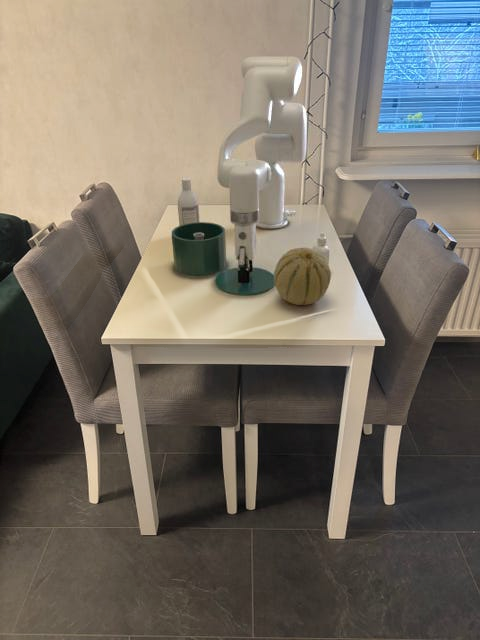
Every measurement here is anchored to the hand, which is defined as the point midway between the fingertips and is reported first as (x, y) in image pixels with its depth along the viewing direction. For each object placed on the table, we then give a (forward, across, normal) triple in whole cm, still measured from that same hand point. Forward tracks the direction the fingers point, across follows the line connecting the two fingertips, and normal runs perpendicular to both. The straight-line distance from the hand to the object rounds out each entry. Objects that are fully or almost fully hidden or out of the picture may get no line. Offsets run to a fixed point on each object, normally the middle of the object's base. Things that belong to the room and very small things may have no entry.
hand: (245, 276), depth 140 cm
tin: (+2, +10, +15) cm, 18 cm away
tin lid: (+2, 0, 0) cm, 2 cm away
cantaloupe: (+2, -9, -16) cm, 19 cm away
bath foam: (+2, +35, +24) cm, 42 cm away
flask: (+2, +10, +15) cm, 18 cm away
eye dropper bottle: (+2, +10, -21) cm, 23 cm away
